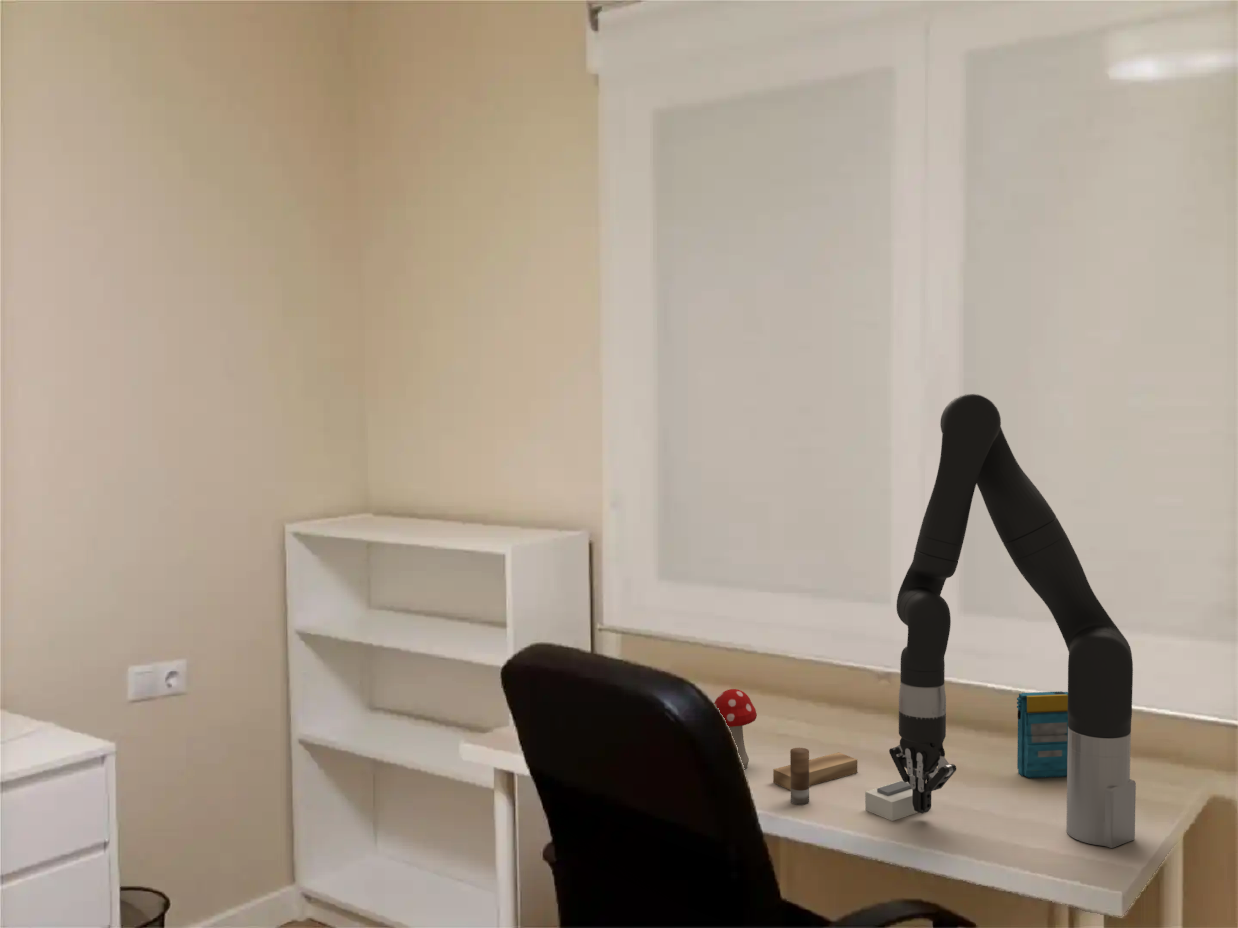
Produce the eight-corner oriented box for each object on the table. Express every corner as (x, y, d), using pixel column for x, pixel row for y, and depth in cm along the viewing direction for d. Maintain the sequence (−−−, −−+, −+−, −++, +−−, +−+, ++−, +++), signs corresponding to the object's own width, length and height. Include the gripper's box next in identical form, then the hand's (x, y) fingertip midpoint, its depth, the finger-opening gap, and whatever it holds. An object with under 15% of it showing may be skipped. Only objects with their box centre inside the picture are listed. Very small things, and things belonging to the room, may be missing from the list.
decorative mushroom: (737, 779, 209) (736, 699, 208) (699, 769, 215) (698, 691, 214) (767, 765, 217) (766, 687, 216) (729, 755, 223) (728, 680, 221)
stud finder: (928, 810, 194) (928, 786, 194) (892, 822, 189) (892, 798, 189) (901, 799, 199) (901, 776, 199) (865, 811, 194) (865, 788, 194)
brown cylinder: (813, 802, 198) (812, 751, 197) (799, 806, 196) (798, 755, 196) (800, 796, 201) (800, 746, 200) (786, 800, 199) (786, 750, 198)
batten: (857, 772, 212) (857, 759, 212) (791, 790, 204) (791, 777, 203) (838, 765, 216) (838, 752, 216) (773, 782, 208) (773, 769, 208)
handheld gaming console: (1065, 769, 211) (1066, 690, 210) (1076, 777, 207) (1077, 697, 206) (1014, 772, 211) (1015, 692, 210) (1023, 780, 207) (1024, 698, 206)
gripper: (969, 714, 184) (968, 819, 186) (908, 695, 195) (907, 794, 197) (937, 723, 180) (937, 829, 182) (876, 703, 191) (876, 804, 193)
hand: (921, 811), depth 189 cm, fingers closed
